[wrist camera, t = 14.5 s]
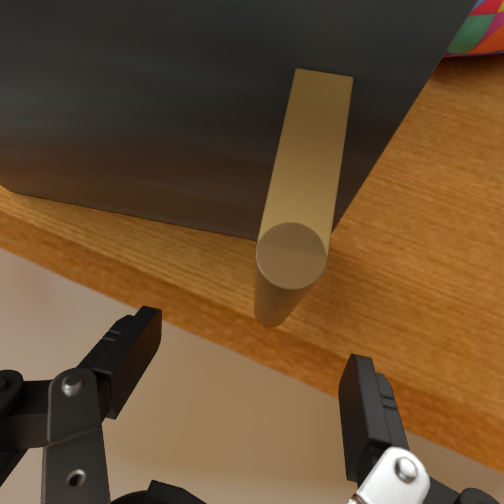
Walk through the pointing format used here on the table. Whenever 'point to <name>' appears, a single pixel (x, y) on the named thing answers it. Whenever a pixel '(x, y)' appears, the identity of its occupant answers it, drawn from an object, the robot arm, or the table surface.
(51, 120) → the door
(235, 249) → the table surface
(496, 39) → the pencil case
